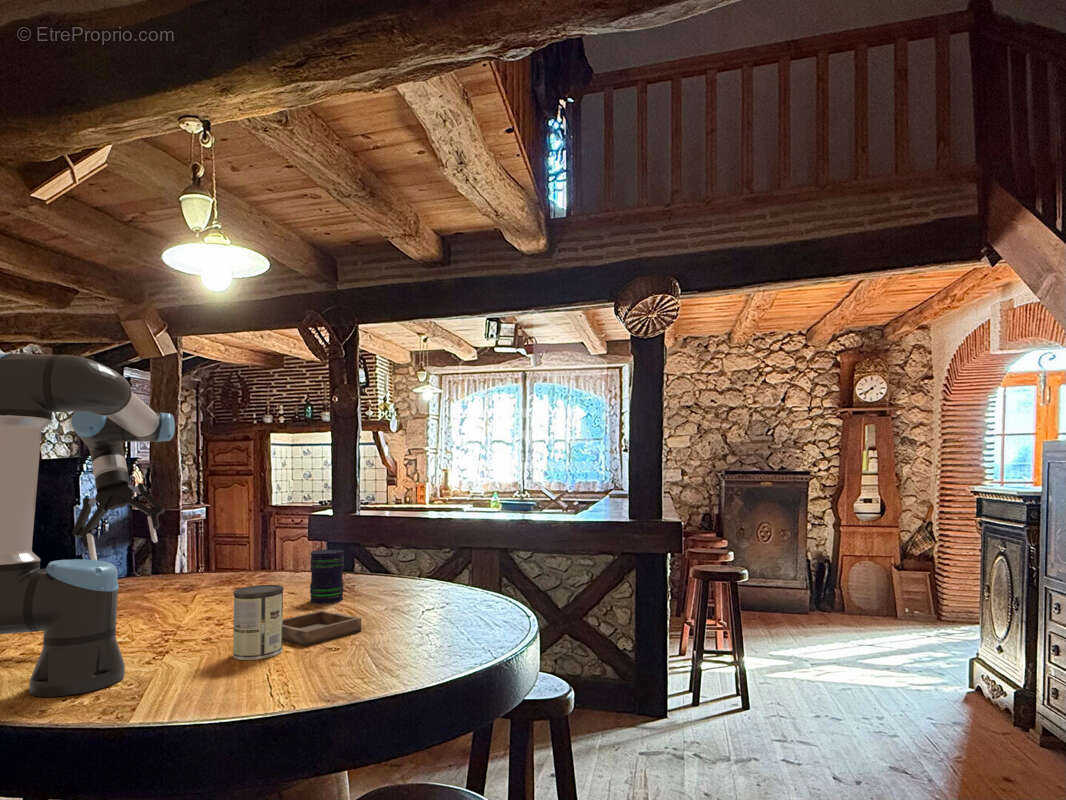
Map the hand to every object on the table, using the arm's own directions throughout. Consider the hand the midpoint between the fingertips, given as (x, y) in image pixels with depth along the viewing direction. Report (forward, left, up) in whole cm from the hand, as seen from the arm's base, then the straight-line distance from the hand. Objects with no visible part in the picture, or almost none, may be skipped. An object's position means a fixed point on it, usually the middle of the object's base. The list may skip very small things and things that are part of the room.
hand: (124, 550), depth 164 cm
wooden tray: (-21, -44, -21) cm, 53 cm away
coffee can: (-33, -31, -21) cm, 50 cm away
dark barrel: (+19, -51, -21) cm, 58 cm away
